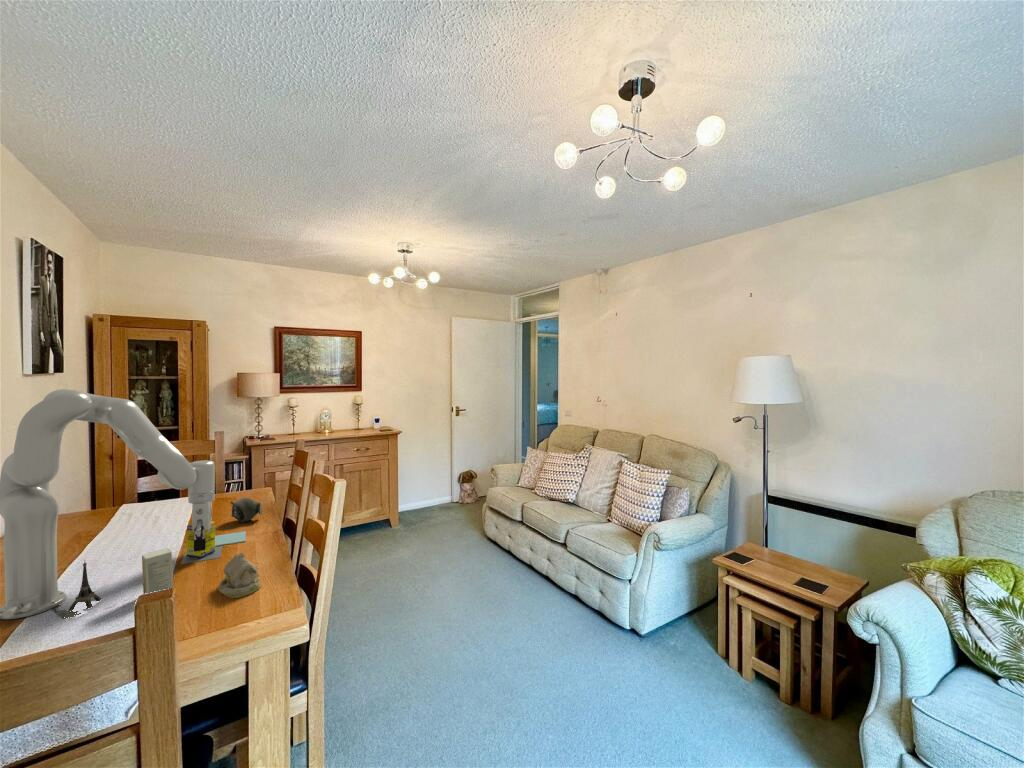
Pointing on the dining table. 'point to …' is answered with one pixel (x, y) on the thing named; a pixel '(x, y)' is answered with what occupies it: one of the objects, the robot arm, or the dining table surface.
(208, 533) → the supplement box
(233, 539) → the rubber mat
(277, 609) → the dining table surface
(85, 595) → the eiffel tower figurine
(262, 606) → the dining table surface
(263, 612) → the dining table surface
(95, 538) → the dining table surface
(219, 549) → the card
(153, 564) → the skincare box
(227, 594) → the ceramic model
